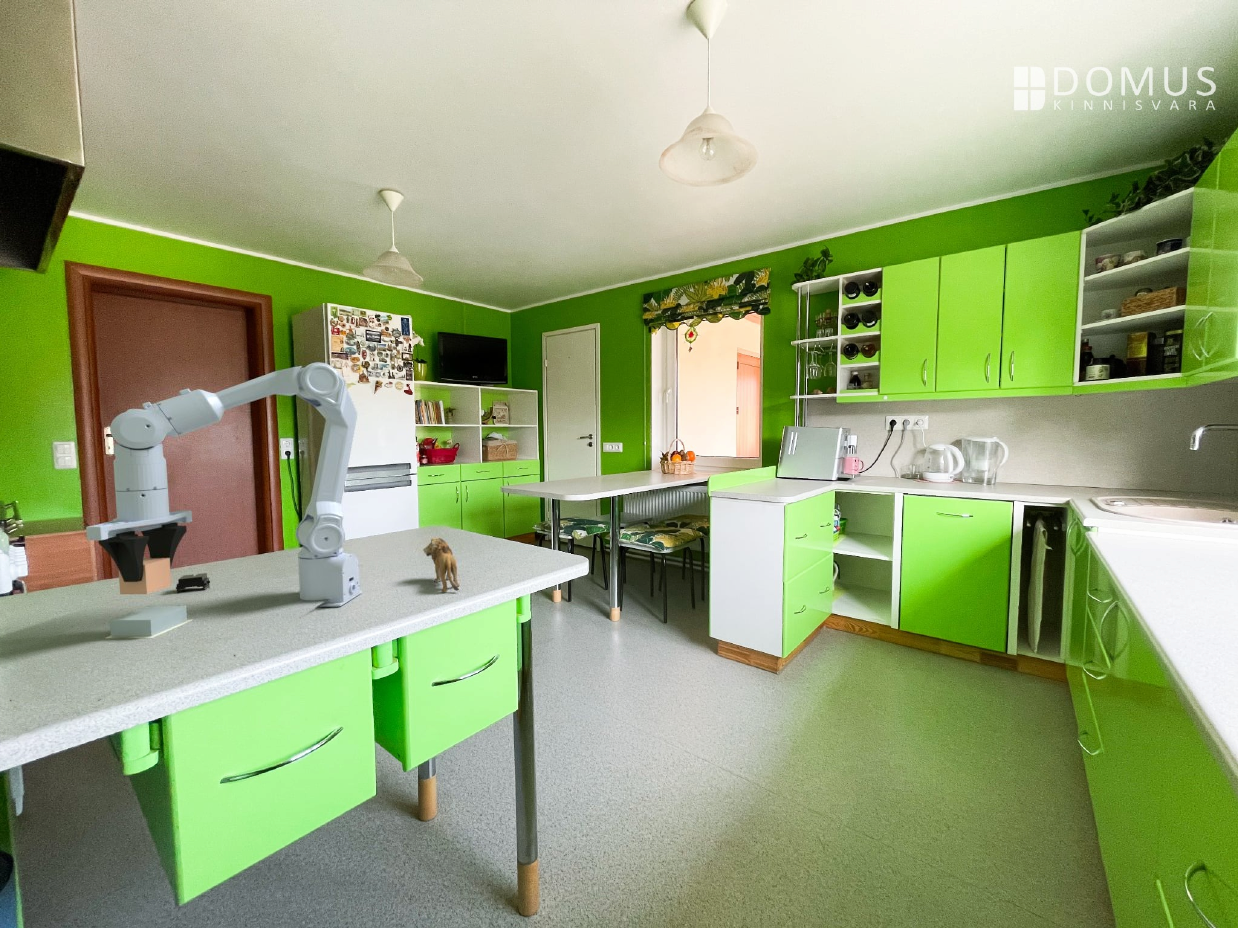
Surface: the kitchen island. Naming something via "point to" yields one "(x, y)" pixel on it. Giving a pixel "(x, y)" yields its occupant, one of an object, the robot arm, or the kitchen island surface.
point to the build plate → (193, 582)
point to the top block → (149, 577)
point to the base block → (148, 621)
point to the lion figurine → (443, 562)
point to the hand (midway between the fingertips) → (147, 576)
